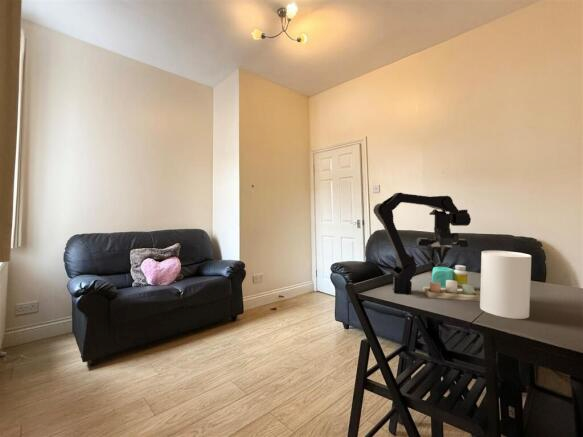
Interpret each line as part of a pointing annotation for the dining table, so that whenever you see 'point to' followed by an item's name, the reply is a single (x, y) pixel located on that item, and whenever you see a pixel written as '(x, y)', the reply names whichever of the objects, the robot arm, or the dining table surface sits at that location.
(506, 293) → the canister
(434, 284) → the button terracotta
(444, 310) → the dining table surface
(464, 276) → the supplement bottle
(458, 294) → the three-slot wooden rack
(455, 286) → the button cream
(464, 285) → the button sage
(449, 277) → the turquoise rounded piece
